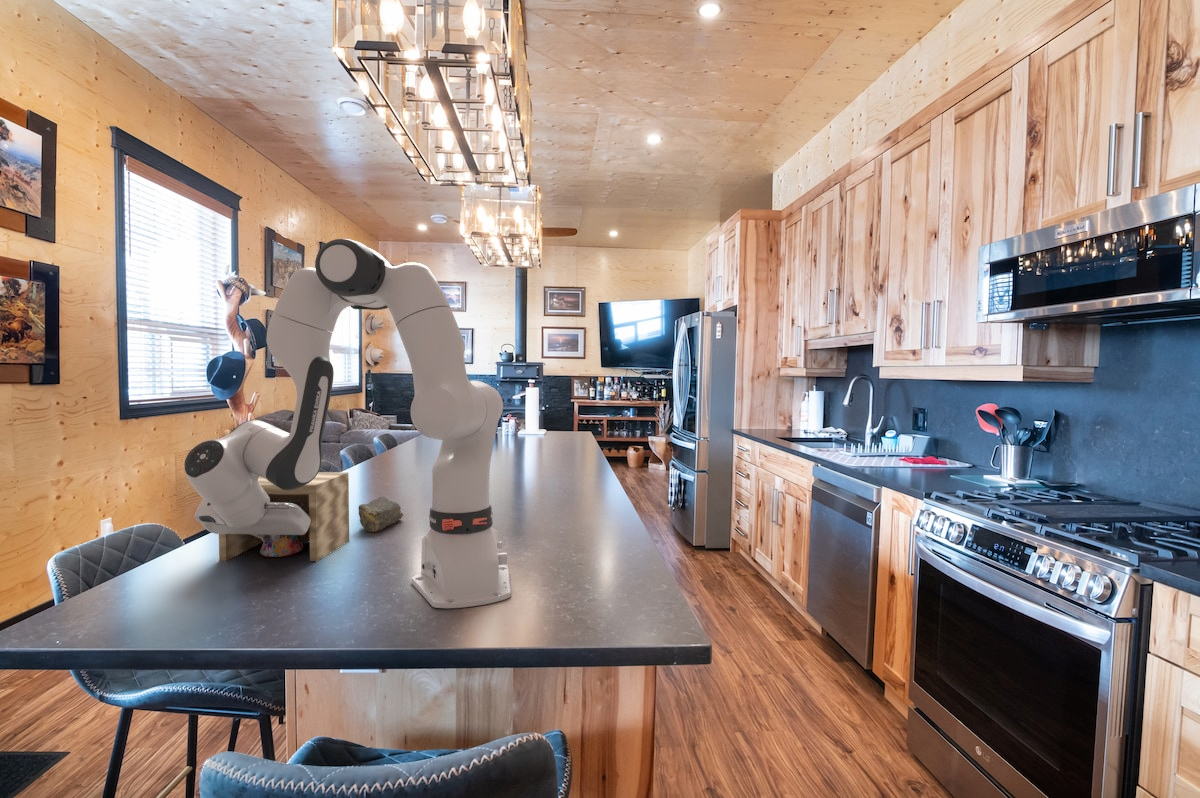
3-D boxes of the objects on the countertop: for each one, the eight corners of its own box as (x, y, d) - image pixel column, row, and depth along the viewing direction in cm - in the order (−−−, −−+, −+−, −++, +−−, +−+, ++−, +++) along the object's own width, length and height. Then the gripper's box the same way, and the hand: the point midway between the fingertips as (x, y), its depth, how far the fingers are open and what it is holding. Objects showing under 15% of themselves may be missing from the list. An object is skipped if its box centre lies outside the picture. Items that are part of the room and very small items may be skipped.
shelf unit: (316, 562, 124) (315, 485, 123) (219, 560, 124) (217, 484, 124) (349, 540, 139) (348, 472, 139) (262, 539, 140) (261, 471, 139)
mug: (294, 559, 125) (293, 511, 125) (249, 560, 125) (248, 511, 124) (316, 543, 137) (316, 498, 137) (276, 543, 137) (275, 499, 136)
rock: (396, 516, 146) (355, 506, 144) (389, 541, 146) (349, 532, 144) (409, 498, 162) (373, 490, 161) (403, 521, 163) (367, 513, 161)
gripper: (300, 491, 118) (324, 526, 128) (200, 490, 118) (232, 525, 128) (289, 518, 113) (314, 552, 124) (185, 517, 114) (219, 551, 124)
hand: (272, 538), depth 126 cm, fingers closed, pressing on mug
